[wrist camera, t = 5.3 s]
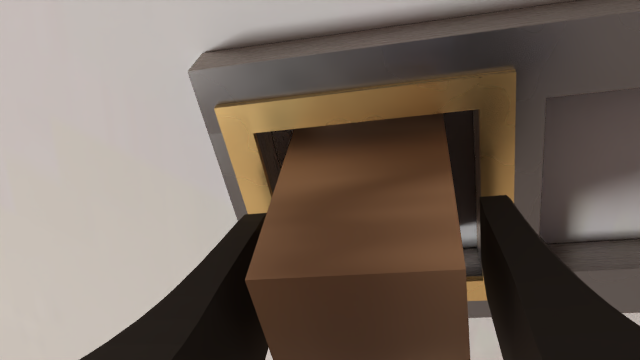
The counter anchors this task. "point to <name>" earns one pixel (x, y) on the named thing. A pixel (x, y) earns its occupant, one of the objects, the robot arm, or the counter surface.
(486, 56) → the grey slotted tray
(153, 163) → the counter surface
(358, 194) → the brown wooden block
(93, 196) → the counter surface
